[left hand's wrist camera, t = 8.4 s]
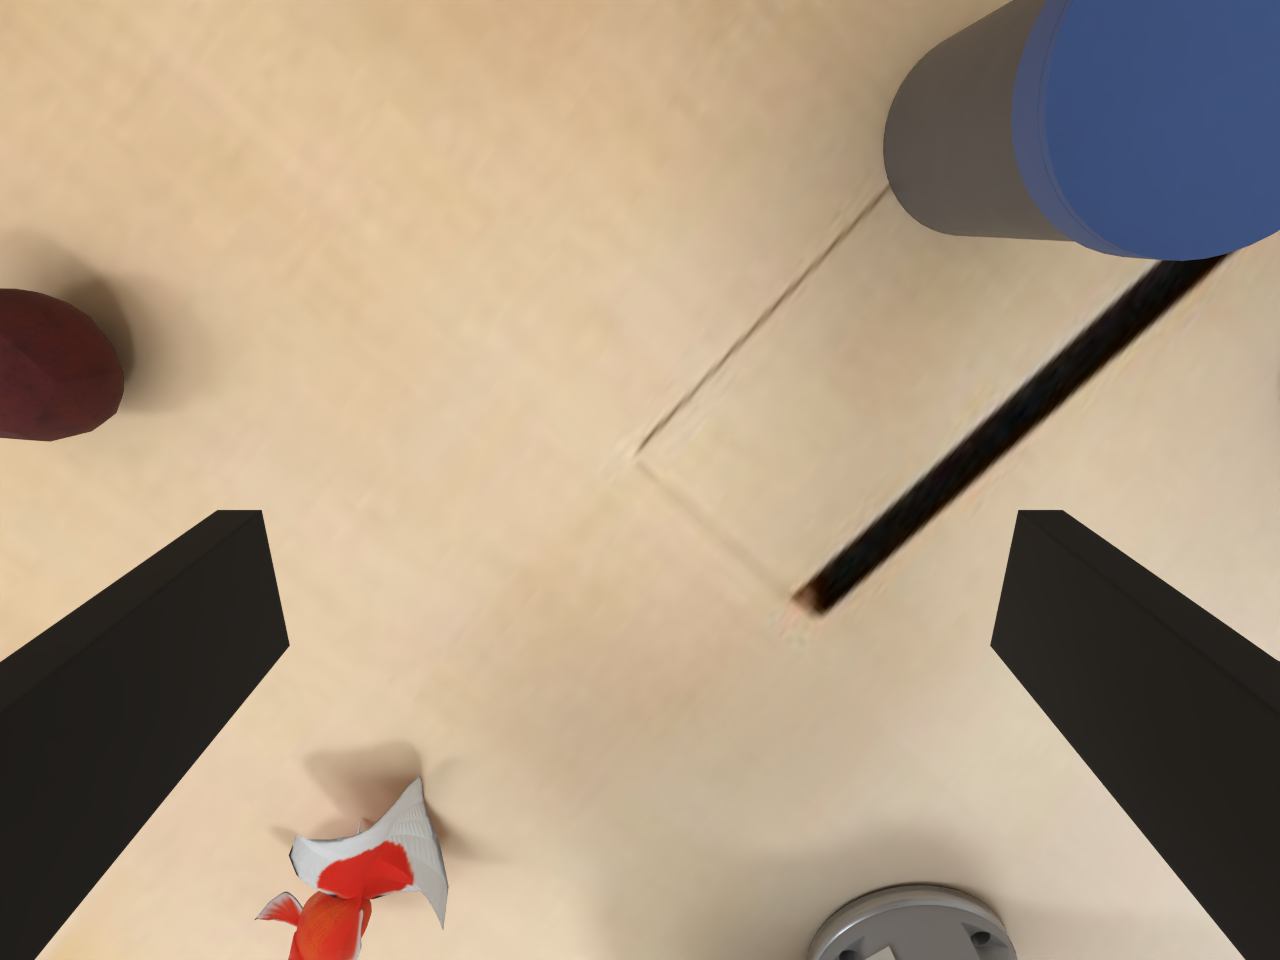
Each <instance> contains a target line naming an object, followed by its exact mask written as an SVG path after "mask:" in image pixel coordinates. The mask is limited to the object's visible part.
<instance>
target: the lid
mask: <svg viewBox="0 0 1280 960" xmlns="http://www.w3.org/2000/svg"><path fill="white" fill-rule="evenodd" d="M1011 121H1012V140H1013V146H1014V151H1015V157H1016V162H1017V165H1018V168H1019V171H1020V174H1021V177H1022V180H1023V182H1024V184H1025V186H1026V189H1027V191H1028V193H1029V195H1030V197H1031V199H1032V200H1033V201H1034V203H1035V204H1036V206H1037V207H1038V209H1039V210H1040V212H1041V213H1042V214H1043V215H1044V216H1045V217H1046V219H1047V220H1048V221H1049V222H1050V223H1051V224H1052V225H1053V226H1054V227H1055V228H1056V229H1058V230H1059V231H1060V232H1062V233H1063V234H1064V235H1066V236H1067V237H1068V238H1070V239H1071V240H1073V241H1075V242H1077V243H1079V244H1081V245H1083V246H1085V247H1087V248H1090V249H1092V250H1095V251H1098V252H1101V253H1104V254H1110V255H1115V256H1121V257H1131V258H1144V259H1157V260H1180V261H1184V260H1194V259H1204V258H1209V257H1213V256H1218V255H1222V254H1226V253H1230V252H1232V251H1235V250H1238V249H1241V248H1244V247H1246V246H1249V245H1251V244H1253V243H1256V242H1258V241H1260V240H1262V239H1264V238H1266V237H1268V236H1270V235H1272V234H1274V233H1275V232H1277V231H1279V230H1280V0H1046V2H1045V4H1044V5H1043V7H1042V9H1041V11H1040V13H1039V14H1038V16H1037V18H1036V20H1035V22H1034V25H1033V27H1032V29H1031V32H1030V34H1029V36H1028V39H1027V41H1026V43H1025V46H1024V50H1023V53H1022V56H1021V59H1020V63H1019V66H1018V70H1017V75H1016V80H1015V85H1014V90H1013V100H1012V114H1011Z"/></svg>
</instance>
